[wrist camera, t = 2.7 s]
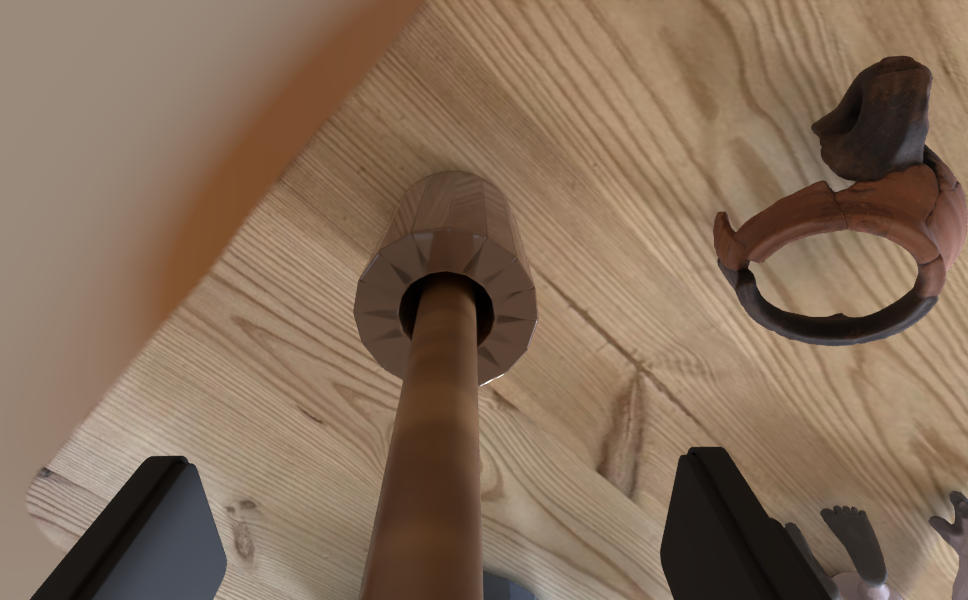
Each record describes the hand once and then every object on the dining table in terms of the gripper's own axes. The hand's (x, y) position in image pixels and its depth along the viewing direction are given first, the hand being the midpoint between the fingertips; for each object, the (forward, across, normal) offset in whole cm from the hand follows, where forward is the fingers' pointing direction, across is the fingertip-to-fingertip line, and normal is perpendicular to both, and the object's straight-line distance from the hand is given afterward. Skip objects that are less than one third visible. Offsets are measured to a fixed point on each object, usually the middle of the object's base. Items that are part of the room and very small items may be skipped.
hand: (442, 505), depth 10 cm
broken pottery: (+17, -17, -2) cm, 24 cm away
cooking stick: (+16, 0, 0) cm, 17 cm away
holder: (+17, 0, 0) cm, 17 cm away
